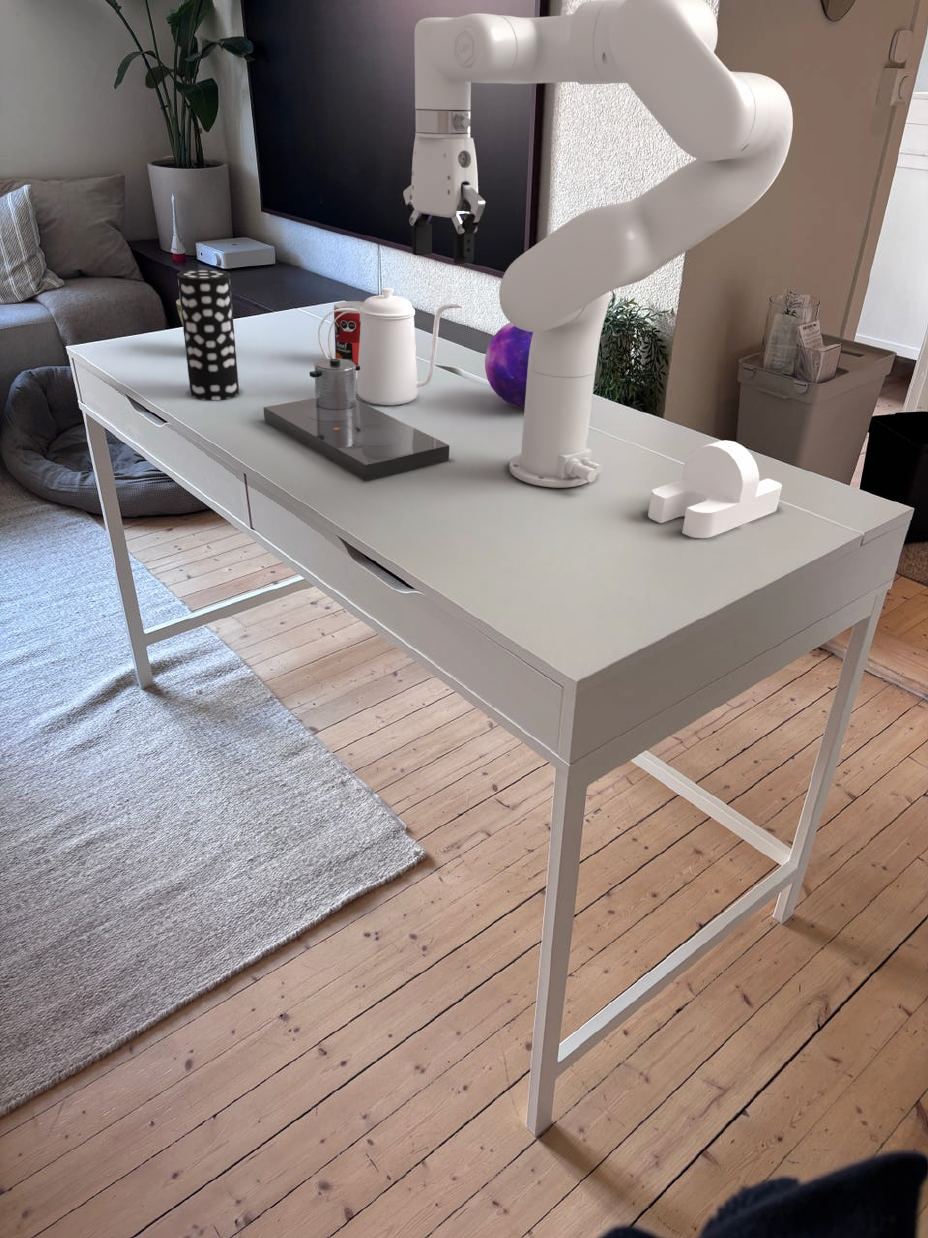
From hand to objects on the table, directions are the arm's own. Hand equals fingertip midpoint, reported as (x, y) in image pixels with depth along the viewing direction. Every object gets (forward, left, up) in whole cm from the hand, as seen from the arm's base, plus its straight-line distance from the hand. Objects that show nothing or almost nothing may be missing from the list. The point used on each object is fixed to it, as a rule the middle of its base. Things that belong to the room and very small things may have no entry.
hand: (442, 258), depth 136 cm
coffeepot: (+21, -6, -28) cm, 35 cm away
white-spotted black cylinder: (+39, +19, -28) cm, 52 cm away
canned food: (+43, -13, -28) cm, 53 cm away
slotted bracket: (-44, -15, -28) cm, 54 cm away
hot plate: (+6, +12, -27) cm, 30 cm away
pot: (+17, +8, -25) cm, 31 cm away
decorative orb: (+5, -24, -28) cm, 37 cm away
